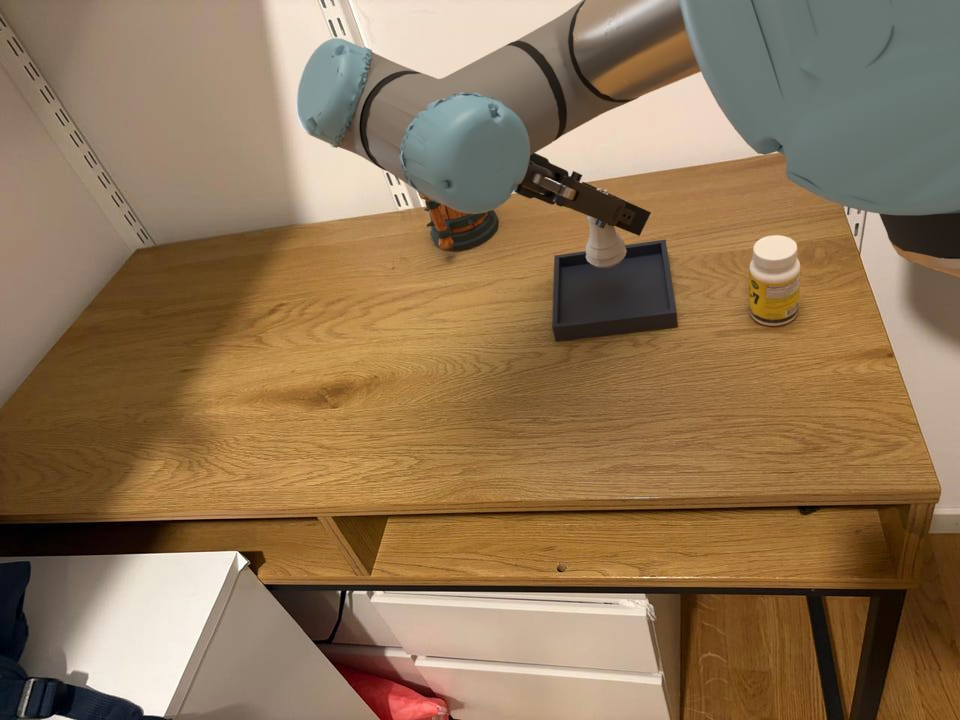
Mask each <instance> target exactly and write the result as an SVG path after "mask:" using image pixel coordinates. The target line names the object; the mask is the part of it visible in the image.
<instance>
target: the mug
mask: <svg viewBox="0 0 960 720" xmlns="http://www.w3.org/2000/svg"><path fill="white" fill-rule="evenodd" d="M417 193H418V192H417ZM418 197H419V198H420V199H421V200H424V203H425V206H426V208H425V207H424V208H423V209H424V210H423V211H424V212H427V213H429V218H430V222H428V223H427V224H426V225H425V226H426V227H427V228H429V227H430V228H431V230H430V233H429V234H430V237H431V240H432V242H433V244H434V246H435V247H437V248H438V249H440V250H442V251H447V252H460V251H469V250H471V249H473V248H476V247H479V246H481V245H483V244H484V243H486V242H488V240H490V239H492V238H493V236H494V235H495V234H496V232H497V231H498V230H499V224H500V221H499V217H498V215H497V213H496V212H495V209H494V210H491V211H488V212H485V213H479V214H467V213H462V212H459V211H456V210H454V209H452V208H450V207H448V206H446V205H444V204H443V205H442V204H441V203H435V202H433V201H432V200H430V199H428V198H426V197H424V196H423V195H421V194H419V193H418Z"/></svg>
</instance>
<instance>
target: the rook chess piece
mask: <svg viewBox="0 0 960 720" xmlns="http://www.w3.org/2000/svg"><path fill="white" fill-rule="evenodd" d="M596 188H597V190H598V191H600V192H602V189H603V188H602V187H596ZM603 191H604V192H603V193H605V194H607V195H608V193H609V190H607V189H606V188H605V189H603ZM586 220H587V221H588V223H589V237H588V239H587V241H586V244H585V247H584V251H586V259H587V261H588V262H589V263H590V264H592V265H593V266H595V267H598V268H608V267H612V266H615V265H617V264H619V263H620V262H621V261H622V260H623V258H624V257H625V255H626V252H627V251H626V248H625V245H626V243H625V241H624V239H623V237H622V236H621V235H620V233H618V232H617V230H616V228H615V227H616V226H610V225H608V224H607V223H606V225H605V227H604V229H603V228H601V227H599V226H597V225H595V224H596V221H597V219H596V218H593V217H591V216H588V215H586Z"/></svg>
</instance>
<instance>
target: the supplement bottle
mask: <svg viewBox="0 0 960 720" xmlns="http://www.w3.org/2000/svg"><path fill="white" fill-rule="evenodd" d="M748 273H749V275H748V277H749V282H748V283H749V284H748V285H749V286H748V287H749V288H748V291H749V293H748V294H749V295H748V296H749V297H748V298H749V301H748V303H749V306H748V307H749V309H748V310H749V314H750V316H751V317H752V319H753V320H754V321H755V322H757V323H759V324H761V325H764V326H769V327H776V326H782V325H786V324H789V323H790V322H792V321H793V320H794V319H795V318H796V317H797V315H798V313H799V308H800V307H799V305H800V287H801V286H800V285H801V263H800V260H799V259H798V245H797V242H796V241H795V240H794V239H793V238H790V237H788V236H786V235H781V234H780V235H779V234H778V235H777V234H773V235H767V236H764V237H761V238H760V239H758V240H757V241H756V242H755V243H754V244H753V247H752V259H751V261H750V263H749V270H748Z"/></svg>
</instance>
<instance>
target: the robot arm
mask: <svg viewBox="0 0 960 720" xmlns="http://www.w3.org/2000/svg"><path fill="white" fill-rule="evenodd" d="M699 73H701V75H702V78H703V79H704V81H705V83H706V85H707V87H708V89H709V91H710V93H711V95H712V96H713V98H714V100H715V102H716V104H717V105H718V107H719V109H720V110H721V112H722V113H723V115H724V116H725V117H726V119H727V121H728V122H729V123H730V125H731V126H732V127H733V128H734V130H735V131H736V132H737V134H738V135H739V136H740V137H741V138H742V140H743V141H744V142H745V143H746V144H747V145H748V146H749V147H750V148H751V149H752V150H753V151H754V152H756V154H758V155H764V156H766V155H770V154H773V153H776V152H777V153H779V154H781V155H783V156H785V175H786V178H787V179H788V181H790V182H792V183H794V184H795V185H797V186H799V187H800V188H803V189H804V190H805V191H808V192H810V193H811V194H813V195H816V196H818V197H820V198H822V199H824V200H826V201H829V202H831V203H834V204H837V205H840V206H843V207H846V208H849V209H854V210H858V211H863V212H868V213H872V214H878V215H879V217H880V220H881V222H882V224H883V226H884V229H885V231H886V234H887V238H888V241H889V242H890V244H891V246H892V247H893V249H894V251H895V252H896V254H897V255H898V256H900V257H901V258H903V259H904V260H906V261H908V262H910V263H913V264H915V265H916V264H917V265H919V266H923V267H926V268H929V269H933V270H935V271H938V272H942V273H945V274H948V275H951V276H954V277H957V278H960V0H580V1H579V2H578V3H576V4H574V6H572V7H571V8H570V9H568V10H567V11H565V12H563V13H562V14H561V15H558V16H557V17H555V18H554V19H552V20H551V21H548V22H547V23H545V24H543V25H541V26H540V27H538V28H535V29H534V30H532V31H531V32H529V33H527V34H525V35H523V36H521V37H520V38H518V39H516V40H514V41H511V42H509V43H507V44H505V45H503V46H501V47H499V48H497V49H495V50H494V51H492V52H490V53H488V54H486V55H484V56H482V57H480V58H478V59H476V60H475V61H472V62H471V63H469V64H467V65H465V66H464V67H462V68H460V69H457V70H456V71H453V72H452V73H449V74H448V75H446V76H444V77H441V78H437V77H434V76H431V75H429V74H426V73H423V72H420V71H417V70H415V69H412V68H409V67H407V66H404V65H402V64H399V63H397V62H395V61H392V60H390V59H388V58H386V57H384V56H381V55H379V54H378V53H375V52H373V50H372V49H370V48H369V47H366V46H364V47H363V46H361V45H358V44H356V43H353V42H351V41H348V40H346V39H343V38H338V37H334V38H330V39H328V40H326V41H323V43H321V44H319V46H318V47H317V48H316V49H314V51H313V53H312V54H311V55H310V57H309V58H308V60H307V62H306V64H305V66H304V69H303V71H302V73H301V76H300V80H299V83H298V86H297V92H296V93H297V94H296V102H295V103H296V104H295V105H296V115H297V120H298V123H299V125H300V127H301V128H302V129H303V131H304V132H305V133H306V134H308V136H311V137H313V138H316V139H318V140H320V141H322V142H325V143H326V144H329V145H330V146H331V147H332V148H335V149H338V148H339V149H342V150H346V151H348V152H351V153H353V154H355V155H357V156H360V157H361V158H363V159H364V160H367V161H368V162H370V163H371V164H372V165H374V166H376V167H378V168H380V169H381V170H383V171H385V172H388V173H390V174H391V175H393V176H395V177H396V178H397V179H399V180H400V181H402V182H403V183H404V184H406V185H408V186H409V187H411V188H413V189H414V190H415V192H417V193H419V194H421V195H423V196H424V197H426V198H428V199H430V200H432V201H433V202H435V203H441V204H442V205H443V204H444V205H446V206H448V207H450V208H452V209H454V210H456V211H459V212H462V213H467V214H479V213H485V212H488V211H491V210H494V211H495V209H497V208H499V207H501V206H502V205H504V204H505V203H506V202H507V201H509V199H511V197H512V194H513V192H514V193H515V194H517V195H519V196H522V197H524V198H527V199H536V200H540V201H541V202H544V203H547V204H549V205H553V206H554V205H556V206H558V207H561V208H562V207H564V208H567V209H570V210H573V211H576V212H578V213H581V214H583V215H585V216H587V215H588V216H591V217H593V218H596V219H597V221H596V224H595V225H597V226H599V227H601V228H603V229H604V227H605V225H606V223H607V224H608V225H610V226H614V227H616V228H619V229H621V230H623V231H627V232H629V233H631V234H634V235H636V236H638V237H640V236H641V234H642V232H643V231H644V228H645V226H646V223H647V222H648V219H649V217H650V215H651V213H652V212H651V211H649V210H647V209H645V208H642V207H640V206H638V205H635V204H634V203H631V202H629V201H627V200H625V199H622V198H621V197H618V196H616V195H613V194H611V193H609V192H608V195H607V194H605V193H603V192H604V191H603V190H604V189H603V190H602V192H600V191H598V190H597V188H598V187H595V186H594V185H591V184H589V183H587V182H584V181H581V179H582V178H583V174H581V173H579V172H577V171H575V170H573V171H572V172H571V174H570V175H569V171H568V170H566V169H564V168H562V167H560V166H558V165H555V164H553V163H551V162H550V160H549V159H548V158H547V157H545V156H542V155H541V154H539V153H537V152H539V151H540V150H543V149H544V148H546V147H547V146H549V145H550V144H552V143H553V142H556V141H557V140H558V139H560V138H561V137H563V136H564V135H566V134H568V133H570V132H572V131H573V130H575V129H577V128H579V127H580V126H583V125H584V124H586V123H588V122H590V121H592V120H594V119H595V118H597V117H599V116H601V115H603V114H605V113H607V112H609V111H611V110H614V109H616V108H618V107H622V106H624V105H626V104H628V103H631V102H633V101H635V100H638V99H639V98H641V97H642V96H645V95H648V94H650V93H652V92H655V91H657V90H660V89H662V88H665V87H667V86H669V85H672V84H674V83H677V82H679V81H681V80H684V79H686V78H689V77H692V76H694V75H697V74H699ZM580 181H581V182H580ZM419 194H418V195H419Z"/></svg>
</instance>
